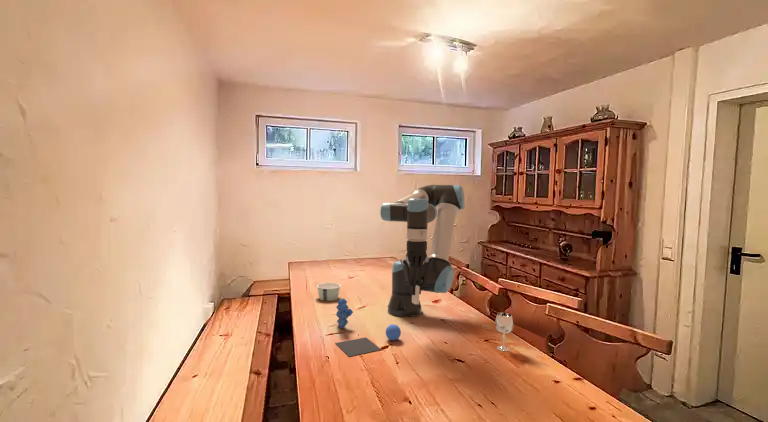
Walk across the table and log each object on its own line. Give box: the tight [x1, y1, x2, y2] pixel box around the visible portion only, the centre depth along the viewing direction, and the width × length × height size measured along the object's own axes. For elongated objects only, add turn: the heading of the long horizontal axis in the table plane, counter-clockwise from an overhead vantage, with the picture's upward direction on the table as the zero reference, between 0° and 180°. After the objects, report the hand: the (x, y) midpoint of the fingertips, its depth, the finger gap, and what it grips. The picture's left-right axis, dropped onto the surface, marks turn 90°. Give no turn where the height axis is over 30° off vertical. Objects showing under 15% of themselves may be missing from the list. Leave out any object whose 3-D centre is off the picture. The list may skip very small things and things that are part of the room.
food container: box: [316, 282, 342, 302], centre depth 188 cm, size 12×12×6 cm
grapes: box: [335, 298, 354, 329], centre depth 147 cm, size 12×7×12 cm, turn 18°
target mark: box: [334, 337, 382, 358], centre depth 129 cm, size 12×12×1 cm
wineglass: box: [495, 312, 514, 353], centre depth 129 cm, size 6×6×12 cm
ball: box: [385, 323, 402, 341], centre depth 136 cm, size 6×6×6 cm
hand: (415, 303), depth 140 cm, fingers closed
